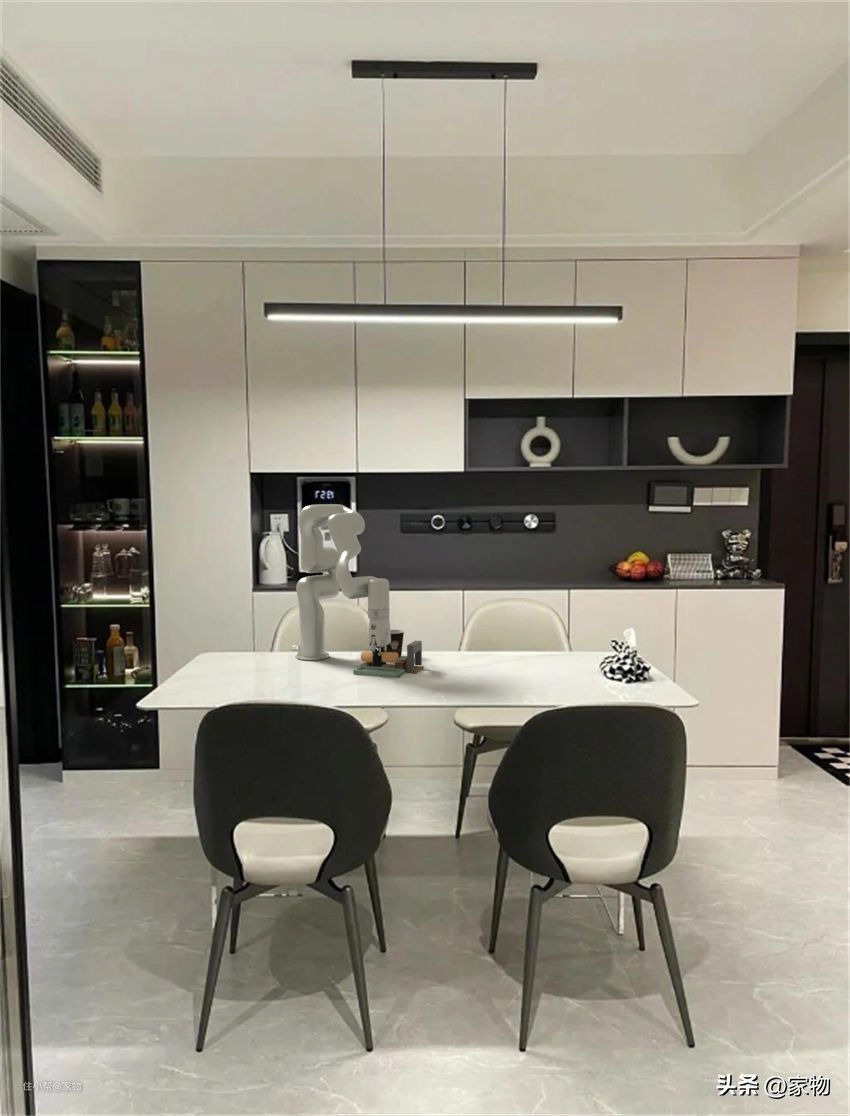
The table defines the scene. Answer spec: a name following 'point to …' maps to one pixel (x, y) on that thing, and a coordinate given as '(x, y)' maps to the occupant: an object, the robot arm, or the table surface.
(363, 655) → the tan rounded-end block
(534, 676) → the table surface
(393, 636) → the coffee mug
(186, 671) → the table surface
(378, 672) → the felt tray
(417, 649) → the grey bracket
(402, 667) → the block
